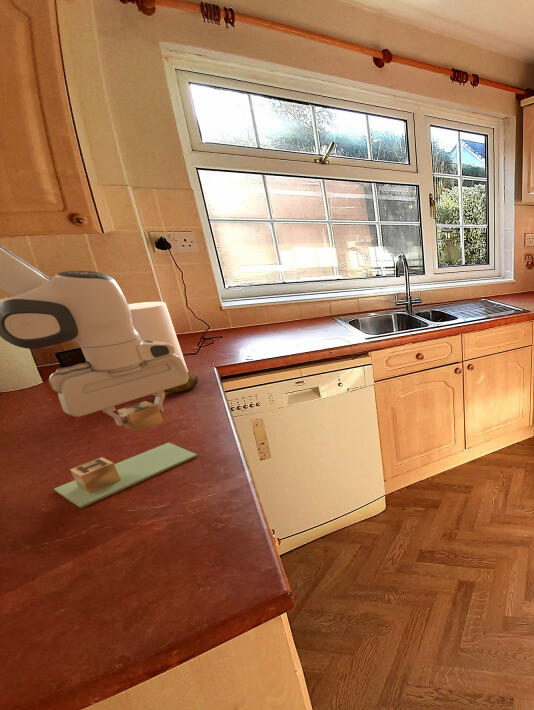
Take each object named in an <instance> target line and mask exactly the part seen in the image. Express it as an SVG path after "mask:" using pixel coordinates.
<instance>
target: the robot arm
mask: <svg viewBox="0 0 534 710" xmlns="http://www.w3.org/2000/svg"><path fill="white" fill-rule="evenodd" d="M0 290H2V291H4V292H6V293H7V294H8V295H11V296H12V297H8V298H6V299H4V300H2V301H1V302H0V338H1V339H3V341H6V342H7V343H8V344H10V345H13V346H15V347H18V348H22V349H27V350H41V349H48V348H52V347H55V346H57V345H61V344H64V343H67V342H76V343H78V346H79V347H80V349H81V352H82V354H83V356H84V358H85V361H84V362H81V363H77V364H74V365H72V366H67V367H65V366H64V367H59V368H57V369H56V370H55V371H54V372H52V373H51V375H49V378H48V383H49V384H50V387H51V389H52V390H53V391H54V392H55V393H57V396H58V401H59V403H60V407H61V408H62V411H63V413H65V414H67V415H69V416H71V417H75V418H80V417H83V416H86V415H89V414H93V413H96V412H99V411H102V412H103V413H104V414H107V416H110V417H112V418H113V420H114V422H115V424H116V425H117V426H119V427H122V426H124V424H127V423H128V420H127V418H126V416H125V415H122V414H121V415H119V414H118V413H115V412H117V409H116V406H118V405H122V404H125V403H128V402H131V401H134V400H137V399H140V398H141V399H142V398H143V397H147V396H151V395H152V396H155V398H154V403H153V404H155V405H157V406H158V409H159V411H160V413H162V412H164V411H165V409H164V406H163V403H164V400H165V397H166V392H164V390H166V389H169V388H173V387H176V386H179V385H182V384H185V383H187V381H188V379H189V375H188V372H189V371H188V372H187V370H188V369H187V370H186V368H185V366H184V364H183V362H182V360H181V359H180V357H178V356H177V355H174V354H173V353H174V352H175V350H174V347H173V345H171V344H168V343H164V342H159V341H141V338H140V335H139V333H138V332H137V331H136V330H135V328H134V326H133V323H132V314H131V311H130V308H129V306H128V304H129V303H128V302H127V299H126V297H125V295H124V293H123V290H122V289H121V287H120V286H119V283H118V282H117V281H116V280H115V279H114V278H113V277H112V276H110V275H108V274H106V273H102V272H98V271H89V270H66V271H65V270H64V271H61V272H58V273H56V274H55V275H53V277H50V276H48V275H47V274H45V273H43V272H42V271H40V270H39V269H37V268H36V267H34V266H33V265H32V264H30V263H28V262H27V261H25V260H24V259H22V258H20V257H19V256H18V255H17V254H15V253H14V252H12V251H10V250H9V249H7V248H6V247H4V246H3V245H1V244H0Z"/></svg>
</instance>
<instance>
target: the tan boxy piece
mask: <svg viewBox="0 0 534 710" xmlns="http://www.w3.org/2000/svg"><path fill="white" fill-rule="evenodd" d="M116 412H117V415H121V414H122V415H125V416H126V418H127V420H128V423H127V424H124V425H123V427H124V429H128V430H130V431H132V432H135V433H137V432H140V431H143V430H145V429H148V428H152V427H154V426H156V425H159V424H163V423H164V419H163V417H162V414H161V412H160V411H159V409H158V406H157V405H155V404H154V403H153V402H149V401H147V400H144V401H141V402H138V403H135V404H132V405H128V406H126V407H122V408H119V409H116Z"/></svg>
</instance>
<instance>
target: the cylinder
mask: <svg viewBox="0 0 534 710" xmlns="http://www.w3.org/2000/svg"><path fill="white" fill-rule="evenodd" d="M127 304H128V306H129V308H130V311H131V314H132V323H133V326H134V328H135V330H136V331H137V332H138V333H139V335H140V338H141V341H159V342H164V343H168V344H171V345H173V347H174V350H175V352H174V353H173V354H174V355H177V356H178V357H180V359H181V360H182V362H183V364H184V366H185V368H186V370H187V372H189V370H188V367H187V364H186V361H185V358H184V355H183V352H182V348H181V345H180V342H179V340H178V337H177V333H176V330H175V328H174V327H175V326H174V324H173V322H172V318H171V315H170V313H169V309H168V307H167V306H168V305H167V304H166V302H164V301H145V302H134V303H127Z"/></svg>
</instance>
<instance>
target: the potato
mask: <svg viewBox="0 0 534 710" xmlns="http://www.w3.org/2000/svg"><path fill="white" fill-rule="evenodd" d="M188 375H189V379H188V381H187V383H185V384H182V385H179V386H176V387H173V388H169V389H166V390H164V393H174V394H175V393H182V392H185V391H188V390H190V389H192V388H194V387H195V386H196V385H197V384H198V383H199V381H200V380H199V377H198V375H197V373H195V372H191V371H188Z"/></svg>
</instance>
